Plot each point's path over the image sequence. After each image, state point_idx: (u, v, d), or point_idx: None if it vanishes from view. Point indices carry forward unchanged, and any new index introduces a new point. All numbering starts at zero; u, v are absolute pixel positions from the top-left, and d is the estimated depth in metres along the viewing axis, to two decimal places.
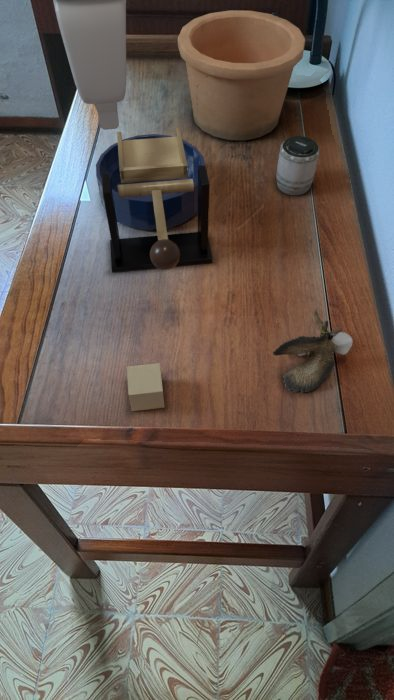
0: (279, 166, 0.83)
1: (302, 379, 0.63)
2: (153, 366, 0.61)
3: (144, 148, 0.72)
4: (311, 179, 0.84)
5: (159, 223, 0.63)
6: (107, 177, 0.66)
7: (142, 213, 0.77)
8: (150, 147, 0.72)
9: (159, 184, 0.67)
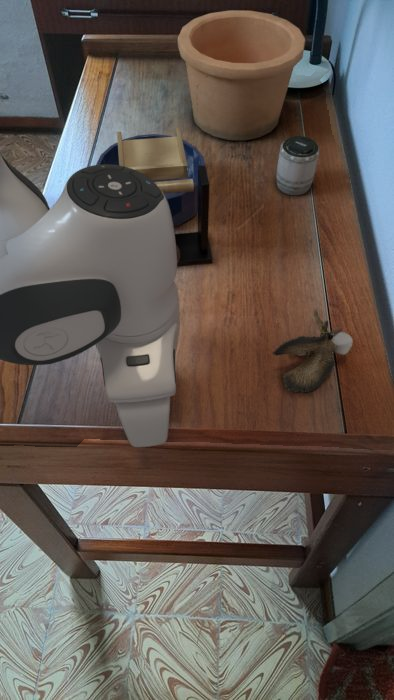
0: (279, 166, 0.83)
1: (302, 379, 0.63)
2: None
3: (144, 148, 0.72)
4: (311, 179, 0.84)
5: None
6: None
7: None
8: (150, 147, 0.72)
9: (159, 184, 0.67)
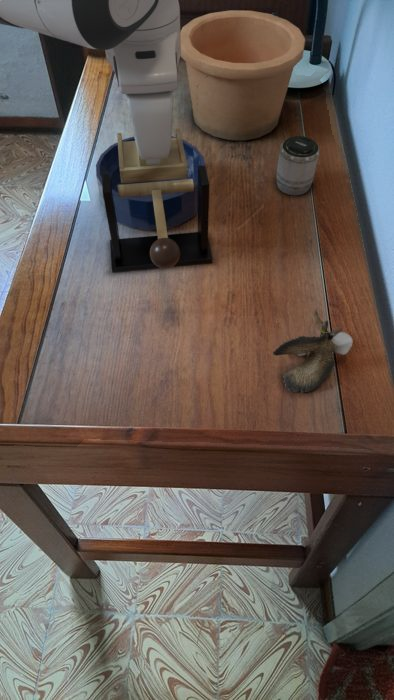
0: (279, 166, 0.83)
1: (302, 379, 0.63)
2: None
3: None
4: (311, 179, 0.84)
5: (159, 222, 0.63)
6: (107, 177, 0.66)
7: (142, 213, 0.77)
8: None
9: (159, 184, 0.67)
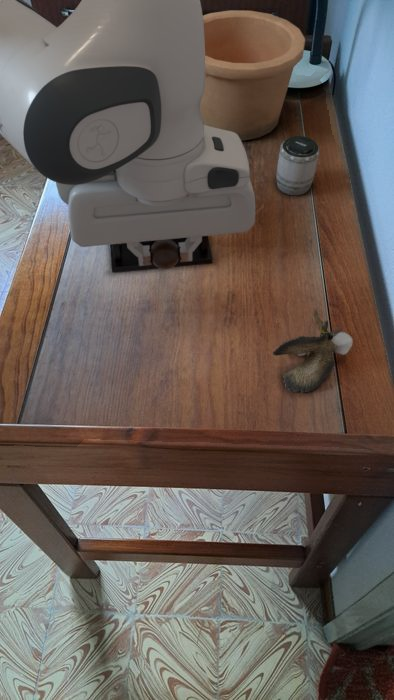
0: (279, 166, 0.83)
1: (302, 379, 0.63)
2: None
3: None
4: (311, 179, 0.84)
5: None
6: None
7: None
8: None
9: None
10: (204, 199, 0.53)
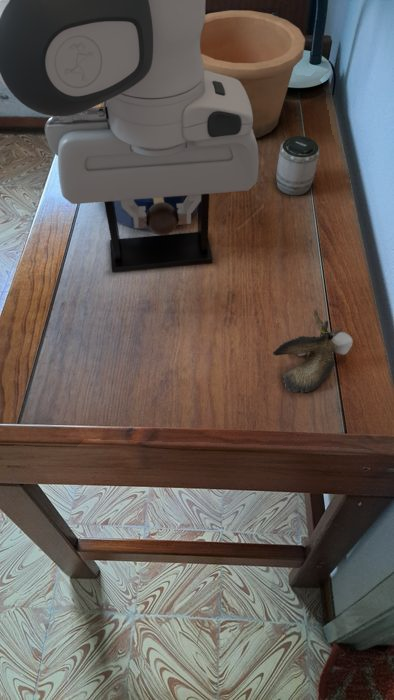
0: (279, 166, 0.83)
1: (302, 379, 0.63)
2: None
3: None
4: (311, 179, 0.84)
5: (157, 201, 0.61)
6: None
7: None
8: None
9: None
10: (204, 151, 0.49)
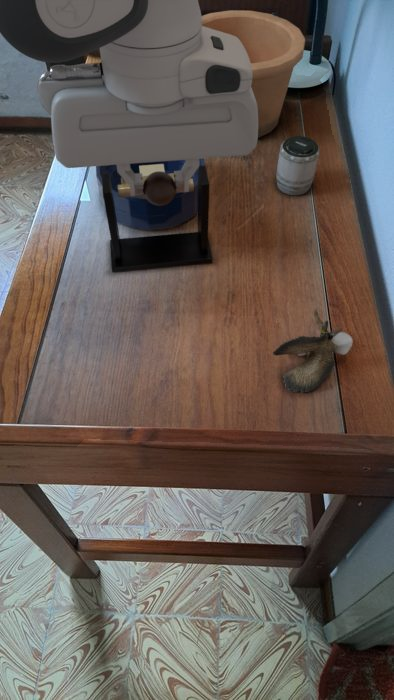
0: (279, 166, 0.83)
1: (302, 379, 0.63)
2: None
3: None
4: (311, 179, 0.84)
5: None
6: (107, 177, 0.66)
7: (142, 213, 0.77)
8: None
9: None
10: (202, 111, 0.48)
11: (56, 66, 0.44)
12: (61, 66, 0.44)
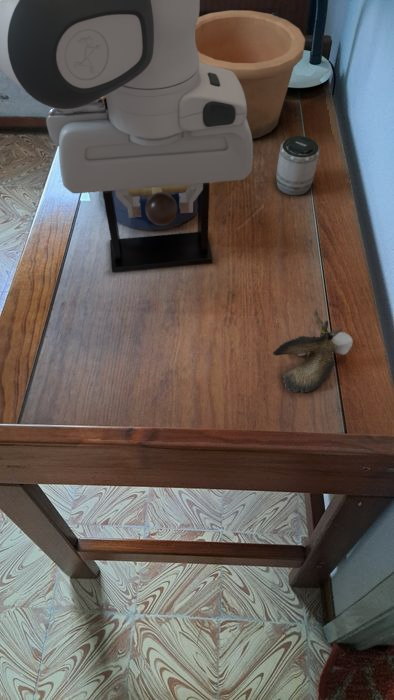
0: (279, 166, 0.83)
1: (302, 379, 0.63)
2: None
3: None
4: (311, 179, 0.84)
5: None
6: None
7: (142, 213, 0.77)
8: None
9: None
10: (200, 141, 0.51)
11: None
12: None
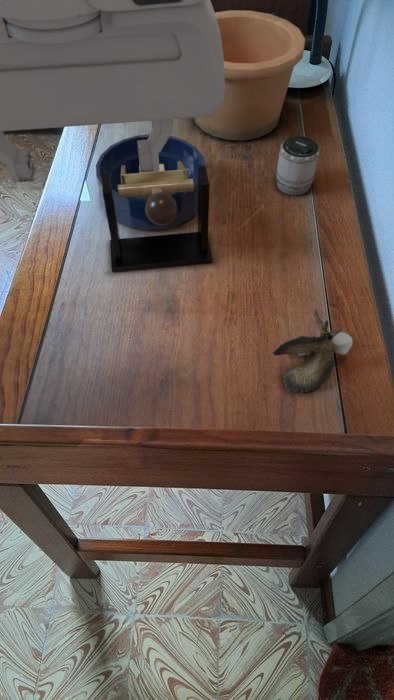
0: (279, 166, 0.83)
1: (302, 379, 0.63)
2: None
3: None
4: (311, 179, 0.84)
5: None
6: (107, 177, 0.66)
7: (142, 213, 0.77)
8: None
9: (158, 182, 0.67)
10: (133, 42, 0.30)
11: None
12: None
